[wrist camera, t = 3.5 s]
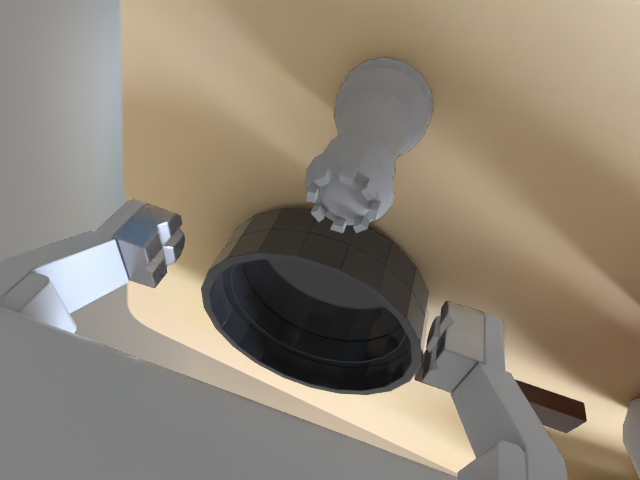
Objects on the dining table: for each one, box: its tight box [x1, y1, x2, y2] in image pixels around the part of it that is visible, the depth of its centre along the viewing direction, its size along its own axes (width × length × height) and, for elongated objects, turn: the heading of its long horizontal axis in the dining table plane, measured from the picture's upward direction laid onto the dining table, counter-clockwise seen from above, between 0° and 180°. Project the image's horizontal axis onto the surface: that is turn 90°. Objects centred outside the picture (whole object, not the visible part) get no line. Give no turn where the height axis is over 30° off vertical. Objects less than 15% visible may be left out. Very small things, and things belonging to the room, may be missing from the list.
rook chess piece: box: [305, 57, 433, 233], centre depth 16 cm, size 4×4×8 cm
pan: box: [201, 208, 429, 395], centre depth 29 cm, size 15×15×4 cm
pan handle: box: [415, 350, 587, 433], centre depth 26 cm, size 2×10×1 cm, turn 82°
